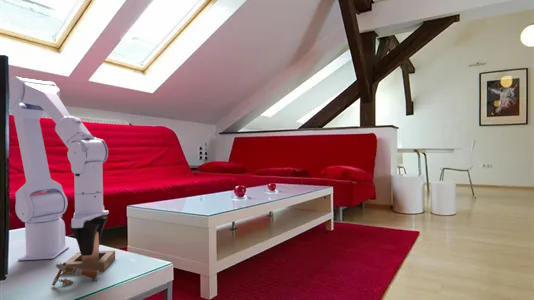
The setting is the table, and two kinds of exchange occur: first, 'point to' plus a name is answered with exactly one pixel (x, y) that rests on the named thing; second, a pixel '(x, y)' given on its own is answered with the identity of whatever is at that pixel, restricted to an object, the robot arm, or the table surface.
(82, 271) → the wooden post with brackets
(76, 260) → the walnut socket collar
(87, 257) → the terracotta peg
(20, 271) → the table surface
